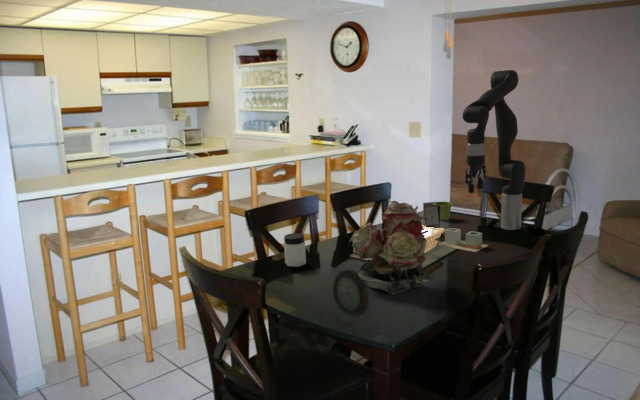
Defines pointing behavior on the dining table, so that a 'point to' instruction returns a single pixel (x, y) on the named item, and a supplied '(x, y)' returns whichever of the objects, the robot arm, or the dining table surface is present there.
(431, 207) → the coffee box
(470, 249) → the pin board
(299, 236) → the jar
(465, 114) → the robot arm
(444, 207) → the plant pot
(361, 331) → the dining table surface
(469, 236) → the sage sleeve
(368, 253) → the rose bouquet
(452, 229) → the grey sleeve
